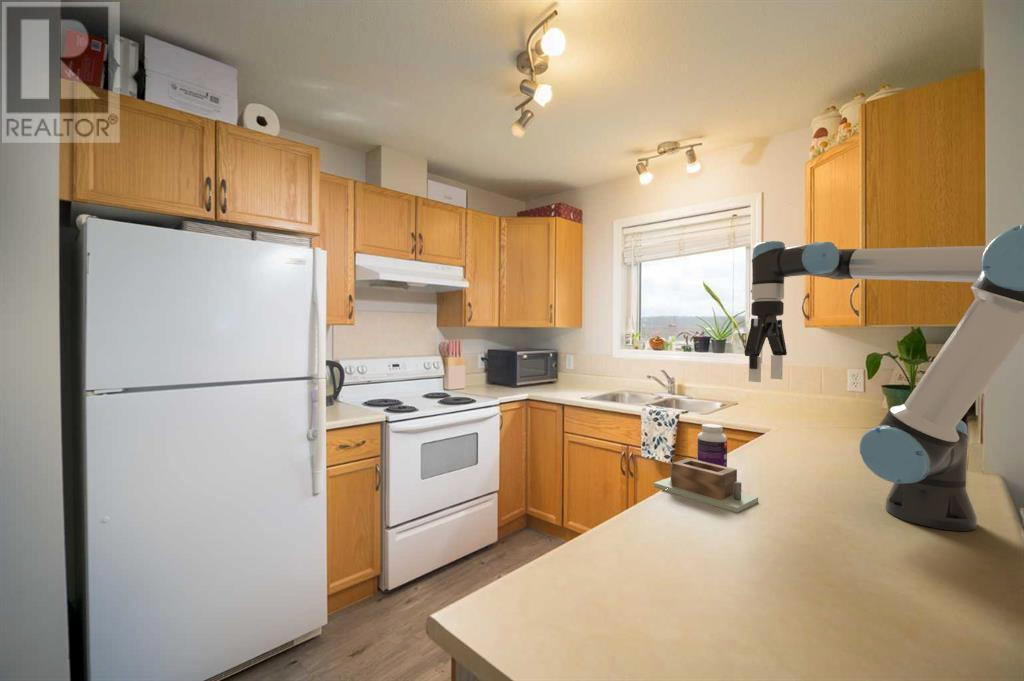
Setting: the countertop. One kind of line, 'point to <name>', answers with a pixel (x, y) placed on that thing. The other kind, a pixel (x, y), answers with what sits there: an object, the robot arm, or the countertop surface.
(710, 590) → the countertop surface
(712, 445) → the pill bottle
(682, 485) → the frame
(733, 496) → the green board with pegs
